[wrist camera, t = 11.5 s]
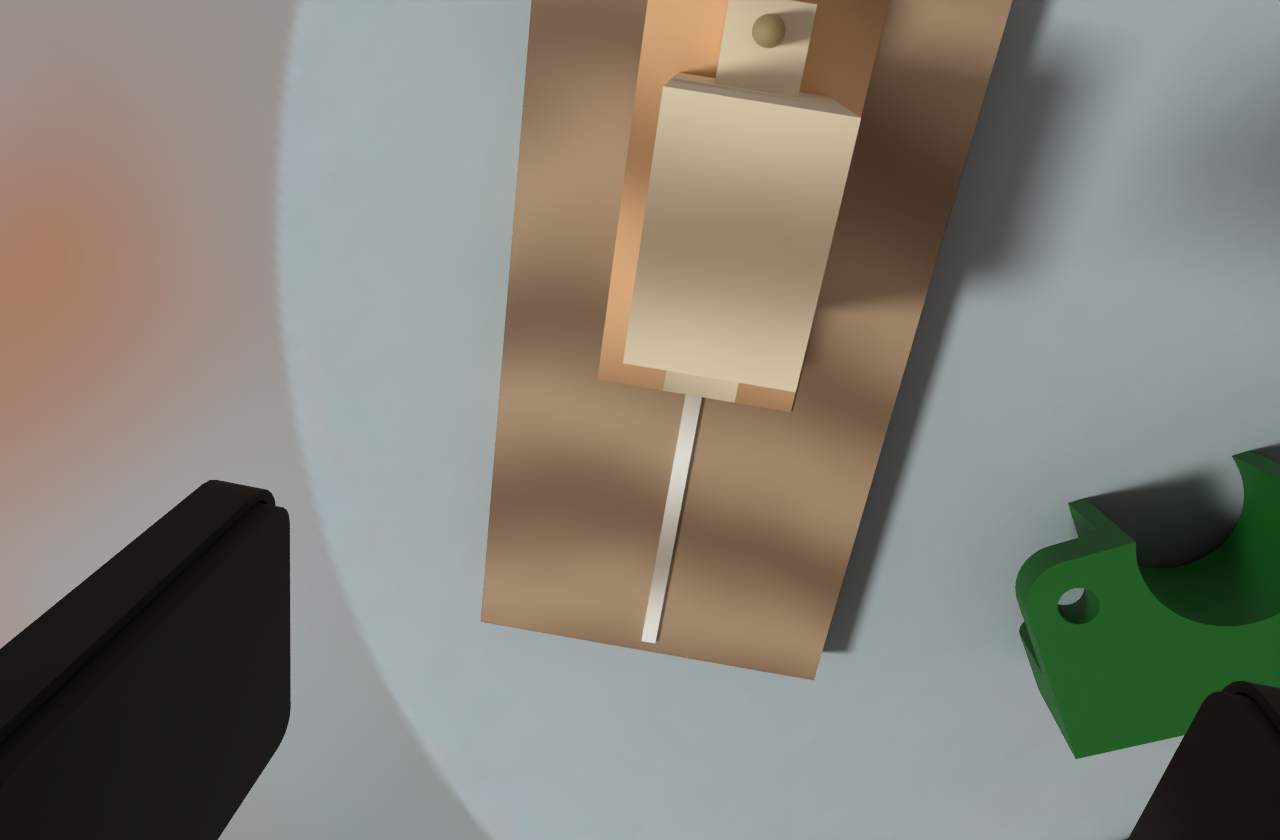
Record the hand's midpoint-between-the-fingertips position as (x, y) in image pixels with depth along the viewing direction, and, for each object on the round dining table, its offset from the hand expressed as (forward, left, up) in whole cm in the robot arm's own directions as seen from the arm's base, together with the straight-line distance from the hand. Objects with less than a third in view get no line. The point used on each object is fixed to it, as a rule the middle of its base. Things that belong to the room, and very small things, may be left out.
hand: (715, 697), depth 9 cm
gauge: (+2, 0, -18) cm, 18 cm away
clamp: (-7, -16, -20) cm, 26 cm away
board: (-3, 0, -19) cm, 20 cm away
